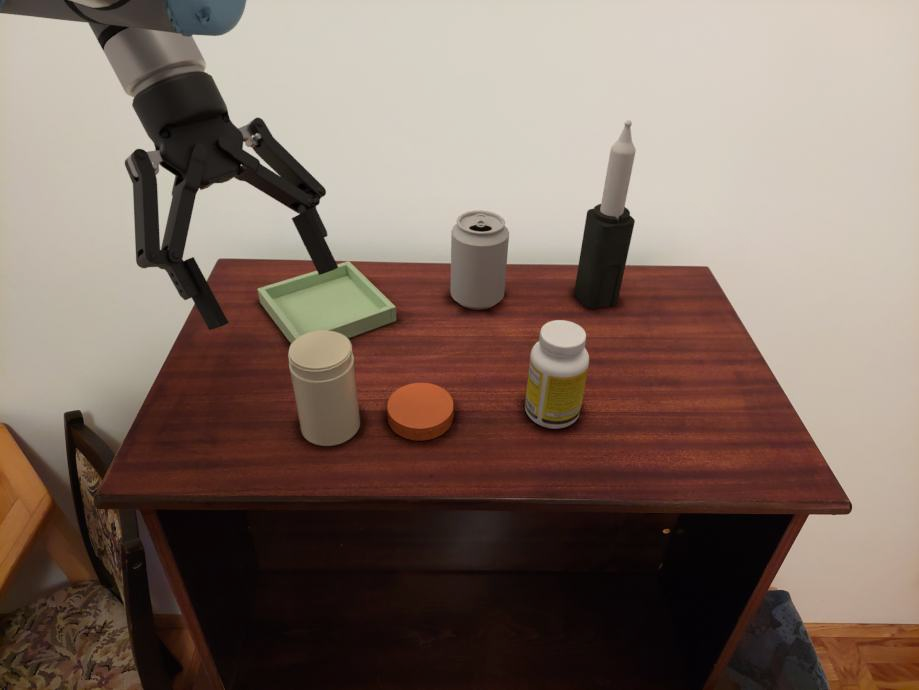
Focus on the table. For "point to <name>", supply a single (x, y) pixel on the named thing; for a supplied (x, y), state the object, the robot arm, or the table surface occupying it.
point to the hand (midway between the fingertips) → (277, 297)
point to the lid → (420, 411)
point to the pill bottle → (557, 375)
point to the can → (479, 259)
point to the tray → (327, 303)
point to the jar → (325, 387)
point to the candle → (607, 232)
